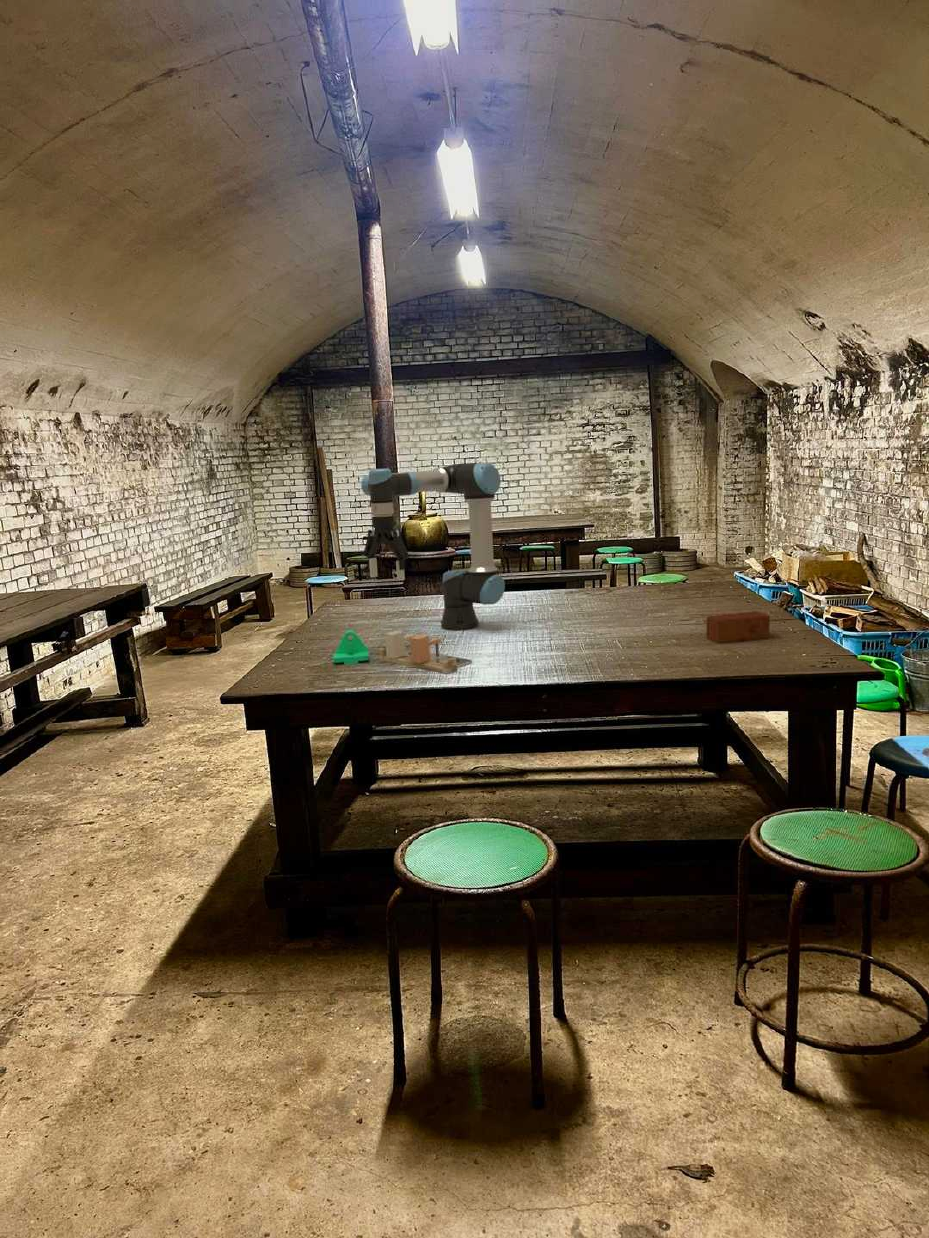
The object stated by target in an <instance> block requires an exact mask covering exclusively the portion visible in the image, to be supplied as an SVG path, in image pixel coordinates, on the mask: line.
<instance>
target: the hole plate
mask: <svg viewBox="0 0 929 1238" xmlns="http://www.w3.org/2000/svg"><path fill="white" fill-rule="evenodd" d="M404 657H409V658H411V653H410V650H407V651H406V650H405V656H404ZM451 658H456V662H457V669H458V668H462V667H464V666H467V665H471V664H473V660H472V659H467V658H462V657H456V656H450V655H446V654H440V653H439V657H436V652H430V660H429V661H430V662H435V663H440V664H442V661H445V660H448V659H451Z"/></svg>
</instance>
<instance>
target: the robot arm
mask: <svg viewBox="0 0 929 1238" xmlns="http://www.w3.org/2000/svg"><path fill="white" fill-rule="evenodd" d="M360 484H361V490H362V493H364V494H365V495H366V496H369V497H370V508H371V509H370V511H371V513H370V515H371V516H372V517H371V525H372V528H373V529H368V531H367V539H366V543H365V546H364V551H363V553H362V554H363V557H366V558H367V560H368V568H369V576H370V578H376V577H377V578H378V562H377V557H376V554H377V553H378V551H379V549H380V547H381V545H382V544H384V545H387V546H388V547H389V548H390V549H391V551H392V553H393V555H394V556H395V558H396V561H395V567H396V579H397V581H400V580H401V581H402V580H405V578H406V577H405V570H406V566H405V565H406V563H405V561H406V559H409V558H410V555H409V552H408V550H407V547H406V544H405V541H404V540H403V538H402V532H401V530H400V529H398V530H397V529H396V530H394V527H395V525H396V524H395V516H394V514H395V510H394V497H403V496H410V495H411V496H412V495H416V494H417V493H422V492H432V491H434V492H435V493H438V494H439V493H440V494H441V493H443V494H444V493H449V494H459V495H463V499H464V501H465V502H466V503H467V504H468V518H469V519H468V520H469V521H468V523H469V537H470V538H469V539H470V563H471V566H470V568H462V569H454V570H450V571H445V572H444V573H443V575H442V592H443V593H442V594H443V603H444V605H443V606H444V609H443V612H442V616H441V617H442V618H441V620H440V624H441V625H440V627H441V629H444V630H449V631H464V630H465V631H466V630H470V629H475V628H477V627H478V626H479V619H478V617H477V615H476V612H475V608H474V604H481V605H485V606H487V605H495V604H497V603H498V602H500V600H501V598H503V596H504V594H505V593H504V592H505V585H506V584H505V580H504V578H503V577H502V576H501V575H500V574H499V570H498V567H497V566H495V563H494V545H493V544H494V543H493V522H492V502H493V501H494V499H496V498H495V497H496V496H495V494H496V493H497V492H498V491H499V490H500V489H499V488H500V487H501V476H500V472H499V470H498V469H497V468H496V466H495V464H492V463H490V462H481V461H479V462H467V463H457V464H452V465H451V464H450V465H446V466H441V467H440V466H437V467H435V468H434V469H431V470H423V471H422V470H421V471H420V470H419V471H406V472H392V471H391V469H390V468H374V469H373V468H372V469H370V470H369V471H368V474H367V475H365V476H364V477H363V478H362V479H361V483H360Z"/></svg>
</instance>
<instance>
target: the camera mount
mask: <svg viewBox="0 0 929 1238" xmlns="http://www.w3.org/2000/svg"><path fill="white" fill-rule="evenodd" d="M349 636H350V637H351V636H352V638H351V639H350V638H348V637H349ZM369 659H370V650H369V649H368V647H367V646H366V645H365V643H364V642H363V640H362V639H361V638H360V636H358V634H357V633H356V631H354V630H351V629H348V630H346V632H345V633H344V634H343V636H342V637H341V640H340V642H339V644H338V645H337V647H336V650H335V651H334V653H333V659H332V660H333V663H344V665H352V664H353V665H355V664H359V661H360V662H363V661H368V660H369Z"/></svg>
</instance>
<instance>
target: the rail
mask: <svg viewBox="0 0 929 1238" xmlns="http://www.w3.org/2000/svg"><path fill="white" fill-rule="evenodd" d="M378 653H379V654H378V655H379V661H380V662H387V663H393V664H397V665H402V666H407V667H411V668H417V669H421V670H426V671H431V672H436V673H440V674H441V673H442V674H443V675H449V674H450V673H454V672H456V671H458V668H457V662H456V658H451V659H448V660H445V661H442V664H440V663H435V662H430V661H426V662H423V663H420V664H419V663H414V662H411V658H409V657H404V656H402V657H398V658H395V659H394V658H389V657H387V656H386V647H382V648H379V649H378Z"/></svg>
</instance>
